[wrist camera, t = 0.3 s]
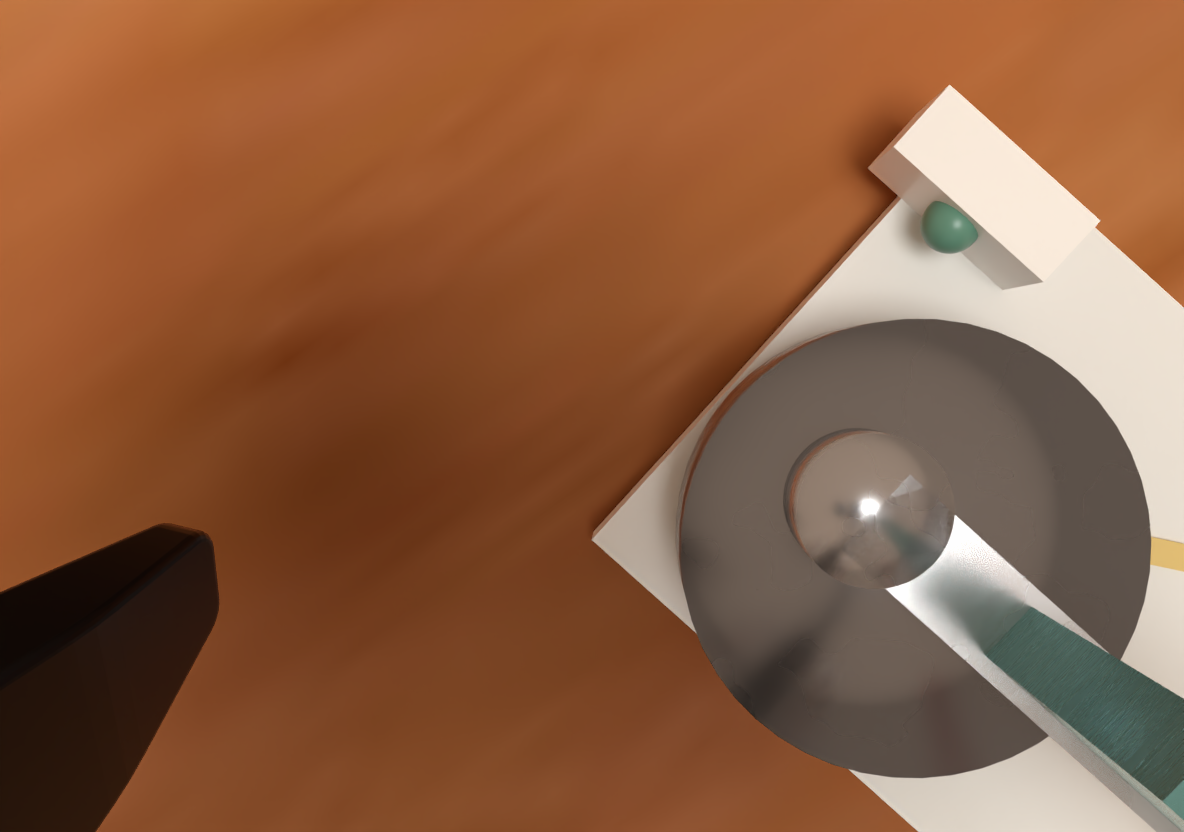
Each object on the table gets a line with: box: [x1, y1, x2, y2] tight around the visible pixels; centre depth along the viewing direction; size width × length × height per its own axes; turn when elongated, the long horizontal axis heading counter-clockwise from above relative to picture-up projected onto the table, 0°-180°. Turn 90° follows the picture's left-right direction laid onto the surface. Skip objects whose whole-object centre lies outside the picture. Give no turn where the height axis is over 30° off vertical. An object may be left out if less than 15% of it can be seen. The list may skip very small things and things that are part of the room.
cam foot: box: [676, 319, 1184, 832], centre depth 15 cm, size 15×9×9 cm, turn 48°
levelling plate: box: [592, 85, 1184, 832], centre depth 20 cm, size 17×12×3 cm
